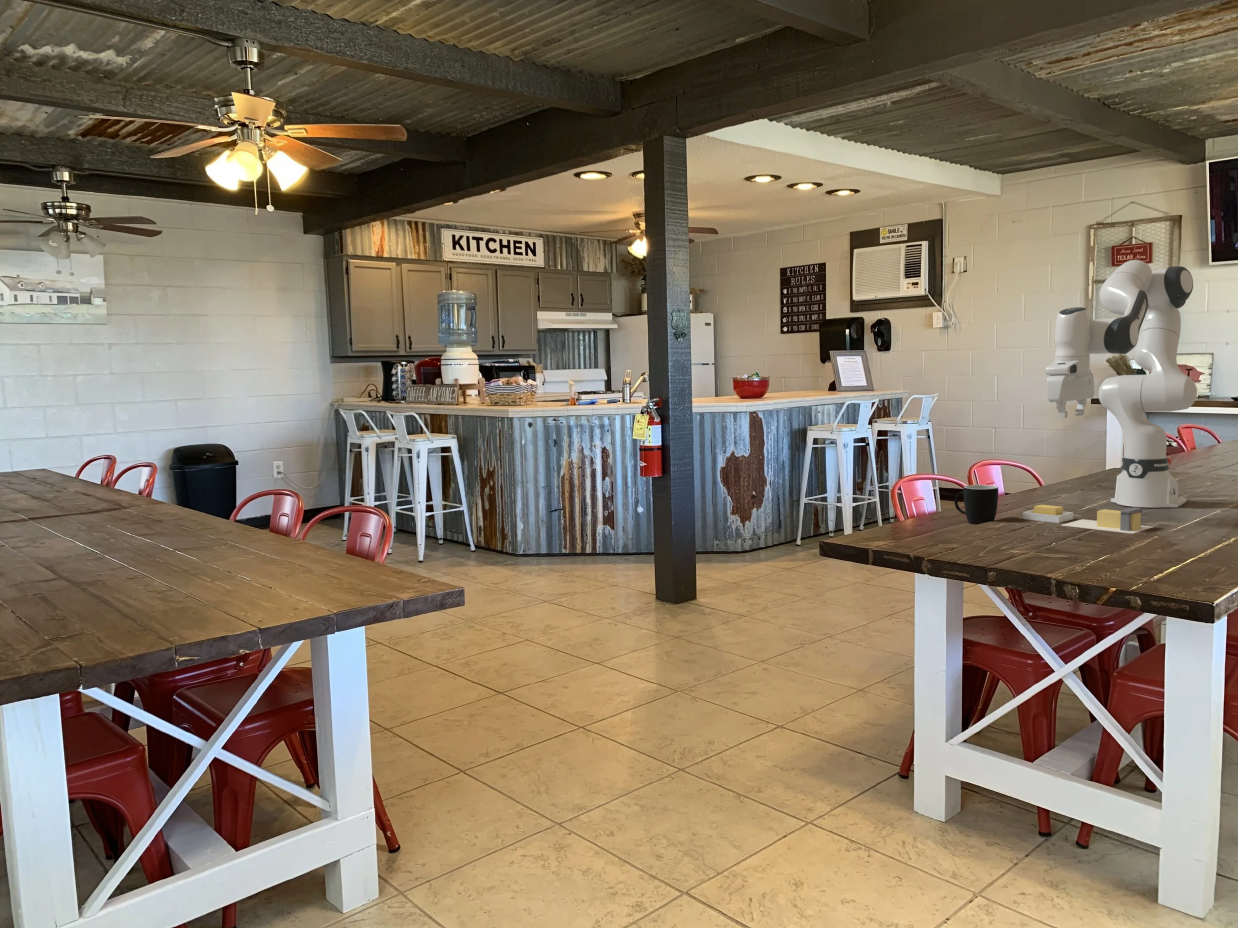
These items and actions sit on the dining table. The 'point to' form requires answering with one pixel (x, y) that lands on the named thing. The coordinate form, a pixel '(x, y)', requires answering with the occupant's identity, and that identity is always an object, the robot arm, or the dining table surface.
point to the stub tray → (1048, 516)
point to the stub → (1048, 510)
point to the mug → (979, 503)
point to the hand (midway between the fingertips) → (1071, 416)
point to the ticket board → (1094, 526)
